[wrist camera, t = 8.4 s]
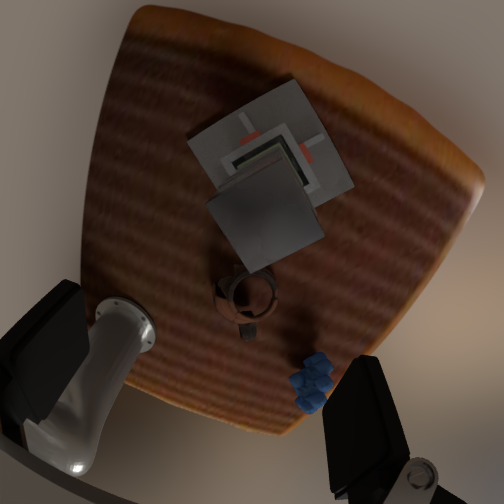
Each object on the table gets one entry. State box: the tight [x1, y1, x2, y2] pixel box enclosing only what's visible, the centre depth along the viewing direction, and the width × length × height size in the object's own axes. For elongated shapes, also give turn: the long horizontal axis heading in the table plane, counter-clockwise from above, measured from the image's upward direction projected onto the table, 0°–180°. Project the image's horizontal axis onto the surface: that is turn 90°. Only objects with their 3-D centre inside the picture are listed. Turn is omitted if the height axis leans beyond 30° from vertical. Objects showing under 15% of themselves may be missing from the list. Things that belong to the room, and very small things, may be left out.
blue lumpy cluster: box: [289, 352, 334, 414], centre depth 44 cm, size 12×7×12 cm, turn 164°
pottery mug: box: [212, 264, 278, 342], centre depth 43 cm, size 12×10×8 cm
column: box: [205, 142, 325, 274], centre depth 22 cm, size 4×4×19 cm
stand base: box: [187, 79, 355, 208], centre depth 32 cm, size 16×16×11 cm
